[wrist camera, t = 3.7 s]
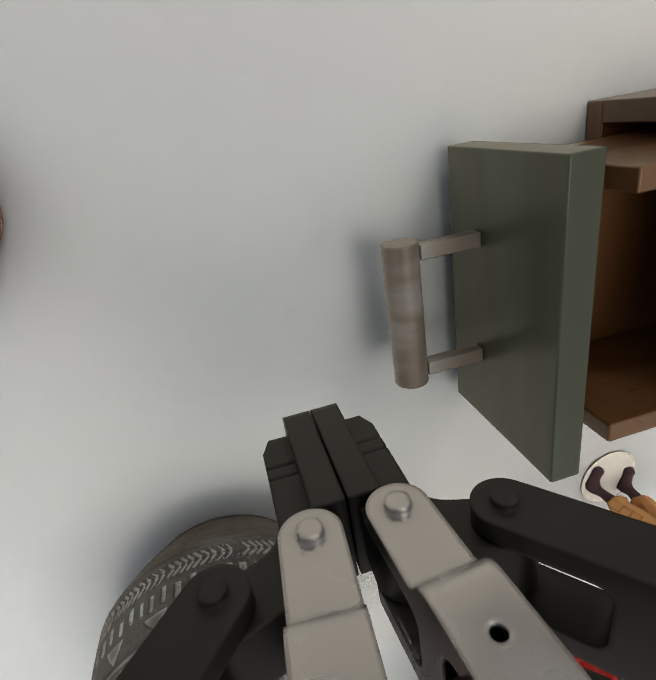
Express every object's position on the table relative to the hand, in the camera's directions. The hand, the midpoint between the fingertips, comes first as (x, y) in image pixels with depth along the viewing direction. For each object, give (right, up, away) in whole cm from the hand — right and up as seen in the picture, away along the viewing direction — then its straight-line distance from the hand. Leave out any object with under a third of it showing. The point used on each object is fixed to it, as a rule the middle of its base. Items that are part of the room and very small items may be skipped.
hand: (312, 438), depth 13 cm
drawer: (+11, +6, +9) cm, 16 cm away
